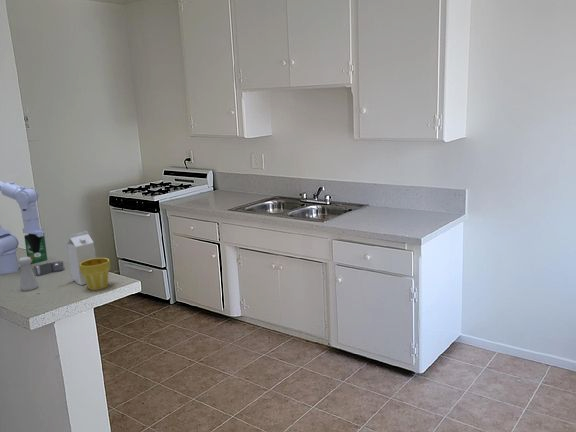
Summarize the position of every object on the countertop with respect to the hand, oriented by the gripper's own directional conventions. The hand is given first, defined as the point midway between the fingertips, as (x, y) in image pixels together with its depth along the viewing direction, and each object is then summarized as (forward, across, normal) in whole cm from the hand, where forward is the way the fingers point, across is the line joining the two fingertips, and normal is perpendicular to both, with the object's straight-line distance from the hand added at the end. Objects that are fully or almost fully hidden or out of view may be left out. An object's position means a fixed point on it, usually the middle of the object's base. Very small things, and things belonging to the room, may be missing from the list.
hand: (36, 252), depth 216 cm
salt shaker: (+10, -20, +12) cm, 25 cm away
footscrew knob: (+8, -5, -2) cm, 10 cm away
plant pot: (+10, -38, -5) cm, 39 cm away
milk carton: (+10, -26, -6) cm, 29 cm away
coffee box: (+10, +18, -8) cm, 22 cm away
